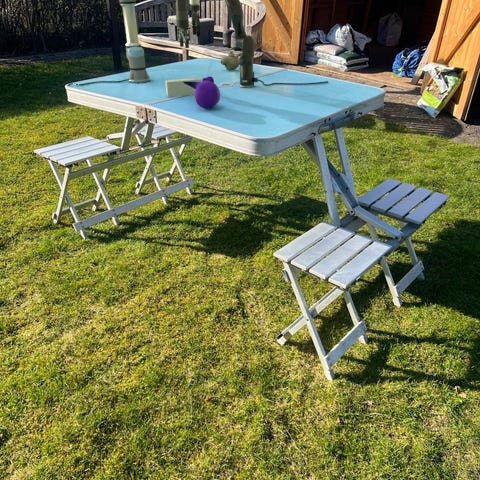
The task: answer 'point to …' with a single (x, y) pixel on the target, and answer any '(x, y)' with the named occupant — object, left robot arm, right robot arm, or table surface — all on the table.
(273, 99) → the table surface
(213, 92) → the toy
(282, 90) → the table surface
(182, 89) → the bar
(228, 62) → the teapot
